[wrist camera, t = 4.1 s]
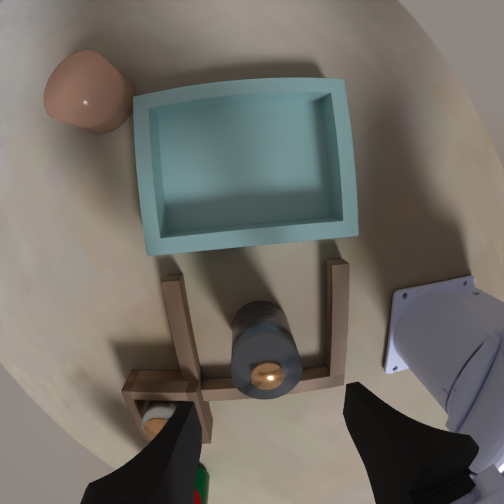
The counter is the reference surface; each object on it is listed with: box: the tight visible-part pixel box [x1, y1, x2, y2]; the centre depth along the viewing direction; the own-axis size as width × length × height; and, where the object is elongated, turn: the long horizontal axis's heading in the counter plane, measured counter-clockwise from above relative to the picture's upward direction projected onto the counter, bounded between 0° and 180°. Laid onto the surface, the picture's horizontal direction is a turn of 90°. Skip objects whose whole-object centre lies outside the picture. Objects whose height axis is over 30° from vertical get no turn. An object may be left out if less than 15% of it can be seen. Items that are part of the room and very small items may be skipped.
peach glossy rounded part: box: [44, 50, 135, 133], centre depth 15 cm, size 5×5×5 cm
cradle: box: [161, 258, 349, 401], centre depth 20 cm, size 12×10×2 cm
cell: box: [231, 301, 303, 399], centre depth 18 cm, size 4×4×6 cm
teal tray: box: [133, 78, 359, 256], centre depth 17 cm, size 13×10×2 cm
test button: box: [141, 400, 182, 440], centre depth 19 cm, size 4×4×3 cm
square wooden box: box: [121, 370, 213, 443], centre depth 21 cm, size 6×6×3 cm
